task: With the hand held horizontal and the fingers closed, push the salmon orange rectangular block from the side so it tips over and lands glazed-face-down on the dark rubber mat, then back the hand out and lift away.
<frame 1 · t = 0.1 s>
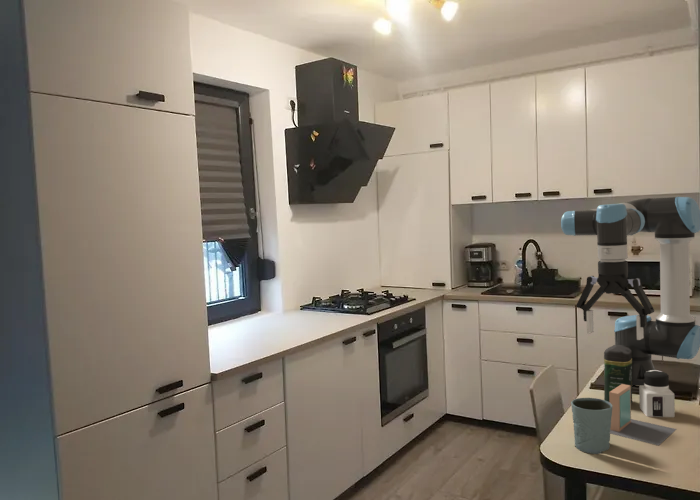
hand: (614, 335, 161), 28 cm above the table, tool pointing down, fingers open, 13 cm apart
container: (656, 414, 175), on the table
coffee jar: (618, 404, 185), on the table
salmon orange rectangular block: (620, 425, 167), point 1 cm above the table, touching mat
teal planter pot: (592, 447, 156), on the table
mat: (638, 432, 163), on the table
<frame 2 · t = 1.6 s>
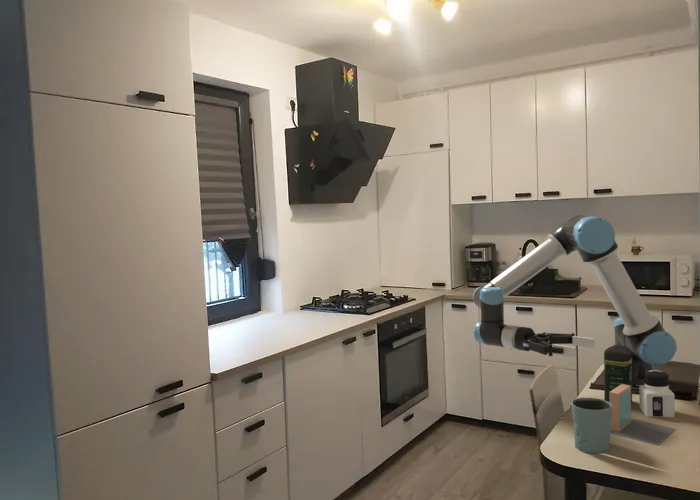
hand: (584, 347, 172), 22 cm above the table, tool horizontal, fingers open, 12 cm apart
nothing on the table moved.
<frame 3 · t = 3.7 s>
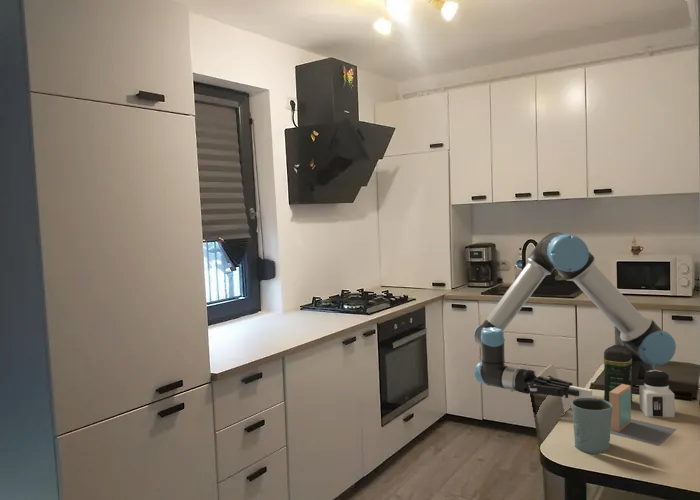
hand: (591, 394, 172), 8 cm above the table, tool horizontal, fingers closed
nothing on the table moved.
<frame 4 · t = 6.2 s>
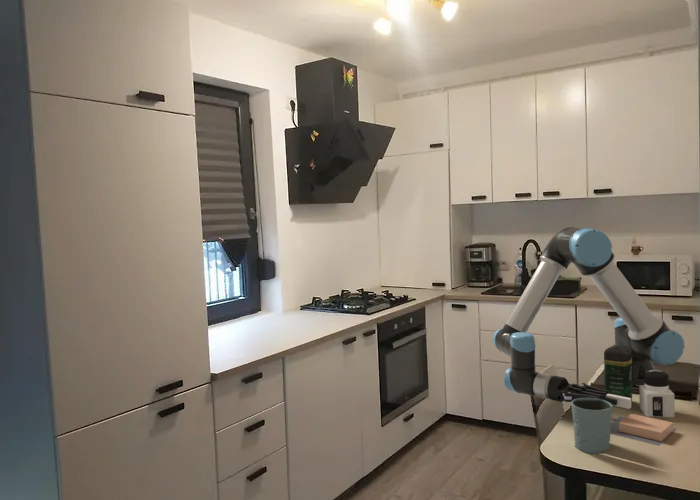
hand: (630, 403, 164), 8 cm above the table, tool horizontal, fingers closed
salmon orange rectangular block: (625, 422, 165), point 2 cm above the table, tilted 90°, touching mat
everything else where it was.
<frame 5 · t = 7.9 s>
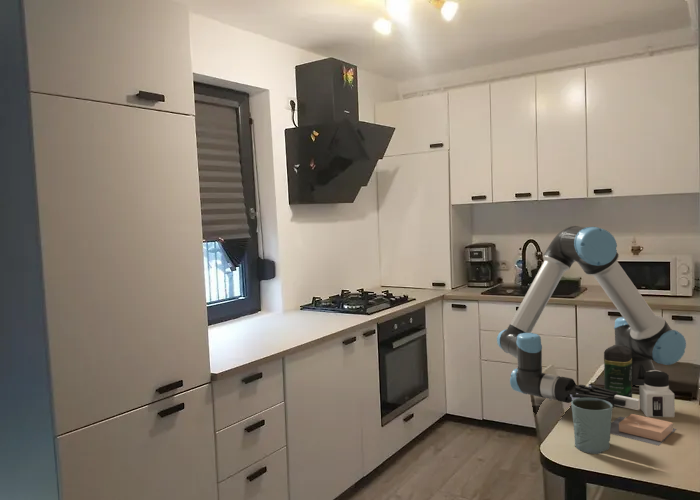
hand: (638, 404, 162), 8 cm above the table, tool horizontal, fingers closed
nothing on the table moved.
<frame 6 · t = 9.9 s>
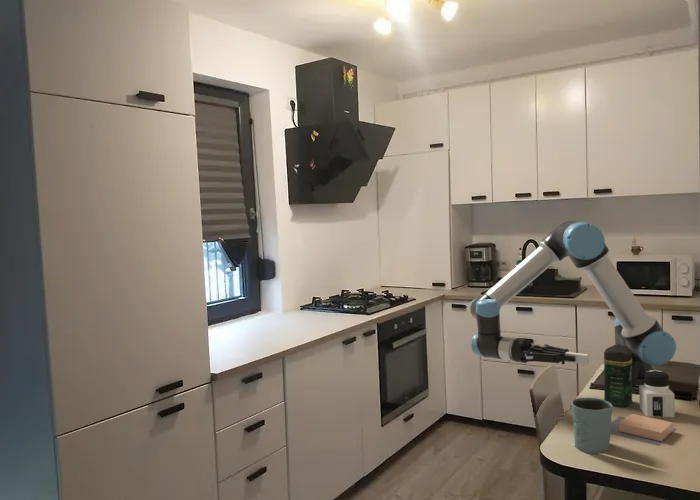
hand: (587, 359, 171), 19 cm above the table, tool horizontal, fingers closed
nothing on the table moved.
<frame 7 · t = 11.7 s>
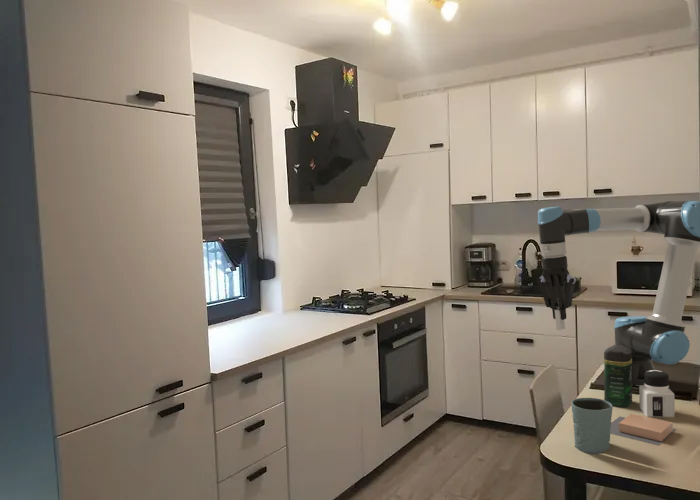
hand: (560, 329, 184), 25 cm above the table, tool pointing down, fingers closed
nothing on the table moved.
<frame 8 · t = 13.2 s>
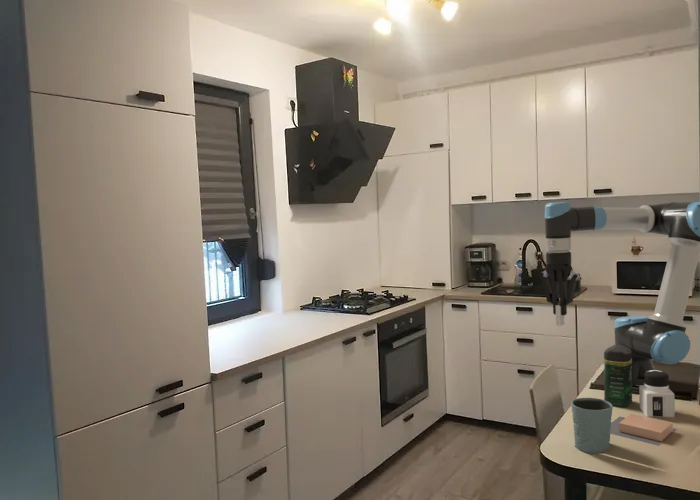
hand: (560, 324, 184), 26 cm above the table, tool pointing down, fingers closed
nothing on the table moved.
at the end: salmon orange rectangular block tilted 90°; salmon orange rectangular block inside the target area (4.7 cm from its centre), point 2.0 cm above the table; salmon orange rectangular block touching mat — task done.
